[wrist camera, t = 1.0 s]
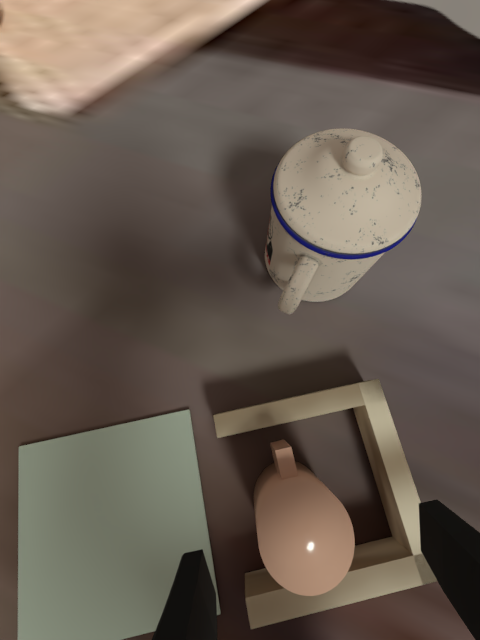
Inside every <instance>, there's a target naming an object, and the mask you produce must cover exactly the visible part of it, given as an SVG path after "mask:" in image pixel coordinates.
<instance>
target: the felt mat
mask: <svg viewBox="0 0 480 640" xmlns="http://www.w3.org/2000/svg"><path fill="white" fill-rule="evenodd" d="M201 549H203V552H204V556H205V559H206V562H207V566H208V569H209V572H210V575H211V579H212V582H213V585H214V588H215V592H216V605H217V615H220V614H221V610H220V604H219V597H218V591H217V584H216V578H215V571H214V565H213V558H212V552H211V545H210V539H209V532H208V526H207V519H206V513H205V506H204V500H203V493H202V487H201V480H200V474H199V467H198V461H197V454H196V448H195V441H194V435H193V428H192V422H191V415H190V409H189V410H184V411H180V412H175V413H170V414H166V415H161V416H157V417H152V418H147V419H143V420H138V421H134V422H129V423H125V424H120V425H115V426H111V427H106V428H102V429H97V430H93V431H88V432H83V433H79V434H74V435H70V436H65V437H61V438H56V439H51V440H47V441H42V442H38V443H33V444H28V445H24V446H19V504H18V640H122V639H126V638H130V637H134V636H137V635H141V634H145V633H149V632H153V631H156V628H157V625H158V623H159V620H160V618H161V615H162V613H163V610H164V607H165V604H166V602H167V599H168V596H169V593H170V590H171V587H172V585H173V582H174V579H175V576H176V573H177V570H178V567H179V563H180V560H181V557H182V555H183V554H184V553H187V552H192V551H197V550H201Z"/></svg>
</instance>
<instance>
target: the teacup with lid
mask: <svg viewBox="0 0 480 640" xmlns="http://www.w3.org/2000/svg"><path fill="white" fill-rule="evenodd" d="M271 202H272V208H271V214H270V221H269V228H268V234H267V241H266V248H265V262H266V267H267V270H268V272H269V274H270V276H271V278H272V279H273V281H274V282H275V283H276V284H277V285H278V286H279V287H280V288H281V289H282V290H283V293H282V295H281V298H280V300H279V303H278V308H279V309H280V310H281V311H282V312H285V313H287V314H292V313H293V312H294V311H295V310H296V308H297V306H298V305H299V303H300V301H301V300H305V301H311V302H321V301H327V300H331V299H334V298H337V297H339V296H341V295H342V294H344V293H345V292H347V291H348V290H349V289H350V288H351V287H352V286H353V285H354V284H355V283H356V282H357V281H358V280H359V279H360V278H361V277H362V276H363V275H364V274H365V273H366V272H367V271H368V270H369V269H370V268H371V266H372V265H373V264H374V263H375V262H376V261H377V260H378V259H379V258H380V257H381V256H382V255H383V254H384V253H385V252H386V251H388V250H390V249H392V248H393V247H395V246H396V245H397V244H399V243H400V242H401V241H402V240H403V239H404V238H405V237H406V236H407V235H408V234H409V232H410V231H411V229H412V228H413V226H414V224H415V222H416V219H417V216H418V213H419V210H420V206H421V186H420V181H419V178H418V175H417V173H416V171H415V169H414V167H413V165H412V164H411V162H410V161H409V159H408V158H407V157H406V156H405V155H404V154H403V153H402V152H401V151H400V150H399V149H398V148H397V147H396V146H394V145H393V144H391V143H390V142H388V141H387V140H385V139H383V138H381V137H379V136H376V135H374V134H371V133H368V132H365V131H361V130H355V129H330V130H325V131H321V132H317V133H314V134H312V135H309V136H307V137H305V138H304V139H302V140H300V141H299V142H298V143H296V144H295V145H294V146H293V147H292V148H290V149H289V150H288V151H287V153H286V154H285V155H284V156H283V158H282V159H281V161H280V162H279V164H278V166H277V167H276V169H275V172H274V174H273V178H272V182H271Z"/></svg>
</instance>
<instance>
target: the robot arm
mask: <svg viewBox="0 0 480 640" xmlns="http://www.w3.org/2000/svg"><path fill="white" fill-rule="evenodd" d="M419 522H420V545H421V552H422V554H423V555H424V557H425V559H426V561H427V563H428V565H429V566H430V568H431V570H432V572H433V574H434V575H435V577H436V579H437V581H438V583H439V584H440V586H441V588H442V590H443V591H444V593H445V594H446V596H447V597H448V599H449V601H450V602H451V604H452V605H453V607H454V608H455V610H456V611H457V613H458V614H459V616H460V617H461V619H462V620H463V622H464V623H465V625H466V626H467V628H468V629H469V631H470V632H471V634H472V635H473V637H474V638H475V640H480V533H479V532H478V531H477V530H475V529H474V528H473V527H472V526H470V525H469V524H468V523H466V522H465V521H464V520H463V519H461V518H460V517H459V516H458V515H456V514H455V513H454V512H452V511H451V510H450V509H449V508H447V507H446V506H445V505H444V504H442V503H441V502H440V501H438V500H433V501H428V502H424V503H419ZM152 640H217V605H216V592H215V588H214V585H213V582H212V579H211V575H210V572H209V569H208V566H207V562H206V559H205V556H204V552H203V549H201V550H197V551H192V552H187V553H184V554H183V555H182V557H181V560H180V563H179V567H178V570H177V573H176V576H175V579H174V582H173V585H172V587H171V590H170V593H169V596H168V599H167V602H166V604H165V607H164V610H163V613H162V615H161V618H160V620H159V623H158V625H157V628H156V631H155V633H154V636H153V638H152Z"/></svg>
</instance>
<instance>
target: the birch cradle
mask: <svg viewBox="0 0 480 640" xmlns="http://www.w3.org/2000/svg"><path fill="white" fill-rule="evenodd" d="M349 408H353V410H354V413H355V416H356V419H357V423H358V426H359V429H360V432H361V436H362V439H363V442H364V445H365V449H366V452H367V455H368V459H369V462H370V465H371V468H372V472H373V475H374V478H375V481H376V485H377V488H378V491H379V494H380V498H381V501H382V504H383V507H384V511H385V514H386V517H387V521H388V524H389V527H390V530H391V534H392V537H388V538H384V539H380V540H376V541H372V542H368V543H364V544H360V545H356V546H355V548H354V556H353V560H352V563H351V566H350V568H349V570H348V572H347V574H346V576H345V577H344V578H343V580H342V581H341V582H340V583H339V584H338V585H337V586H336V587H334V588H333V589H332V590H330V591H328V592H326V593H323V594H320V595H315V596H304V595H299V594H295V593H293V592H291V591H289V590H287V589H285V588H284V587H282V586H281V585H280V584H279V583H277V582H276V581H275V579H274V578H273V577H272V576H271V575H270V573H269V572H268V570H267V569H266V568H264V569H260V570H256V571H252V572H248V573H245V600H246V606H247V611H248V617H249V623H250V628H251V629H254V628H258V627H262V626H266V625H270V624H274V623H278V622H281V621H285V620H289V619H293V618H297V617H301V616H305V615H308V614H312V613H316V612H320V611H324V610H328V609H332V608H335V607H339V606H343V605H347V604H351V603H355V602H359V601H362V600H366V599H370V598H374V597H378V596H382V595H386V594H389V593H393V592H397V591H401V590H405V589H409V588H413V587H416V586H420V585H424V584H428V583H432V582H436V581H437V579H436V577H435V575H434V574H433V572H432V570H431V568H430V566H429V565H428V563H427V561H426V559H425V557H424V555H423V554H422V552H421V545H420V522H419V503H421V502H420V499H419V497H418V494H417V491H416V488H415V485H414V482H413V479H412V476H411V473H410V470H409V467H408V464H407V461H406V458H405V455H404V452H403V449H402V446H401V443H400V441H399V438H398V435H397V432H396V429H395V426H394V423H393V420H392V417H391V414H390V411H389V408H388V405H387V402H386V399H385V396H384V393H383V390H382V388H381V385H380V382H379V379H375V380H368V381H363V382H358V383H353V384H349V385H344V386H340V387H335V388H331V389H326V390H322V391H317V392H313V393H308V394H304V395H299V396H294V397H290V398H285V399H281V400H276V401H272V402H267V403H263V404H258V405H254V406H249V407H244V408H240V409H235V410H231V411H226V412H222V413H217V414H215V415H213V417H214V422H215V428H216V434H217V438H220V437H225V436H229V435H233V434H238V433H242V432H247V431H251V430H256V429H260V428H265V427H269V426H274V425H278V424H282V423H287V422H291V421H296V420H300V419H305V418H309V417H314V416H318V415H323V414H327V413H331V412H336V411H340V410H345V409H349Z"/></svg>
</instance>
